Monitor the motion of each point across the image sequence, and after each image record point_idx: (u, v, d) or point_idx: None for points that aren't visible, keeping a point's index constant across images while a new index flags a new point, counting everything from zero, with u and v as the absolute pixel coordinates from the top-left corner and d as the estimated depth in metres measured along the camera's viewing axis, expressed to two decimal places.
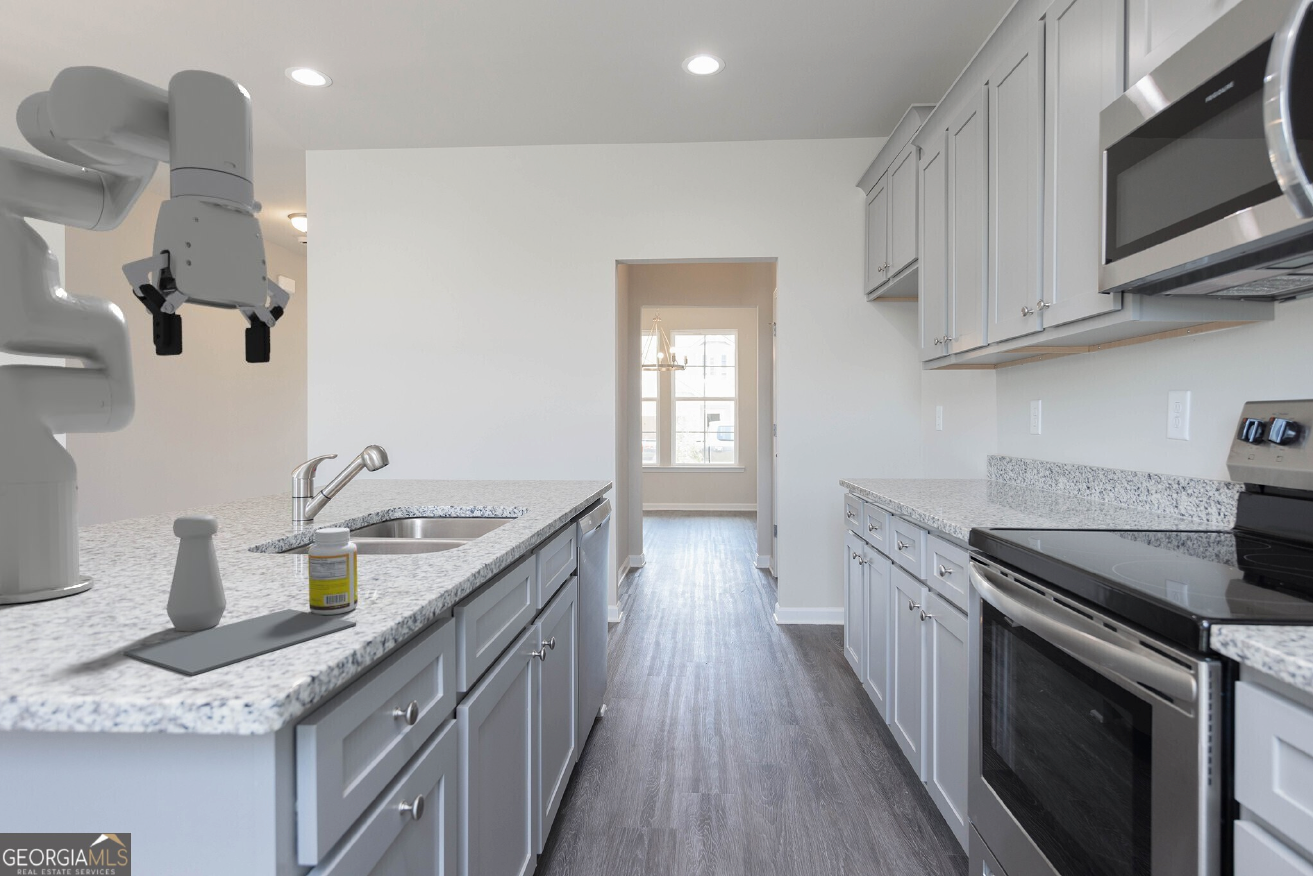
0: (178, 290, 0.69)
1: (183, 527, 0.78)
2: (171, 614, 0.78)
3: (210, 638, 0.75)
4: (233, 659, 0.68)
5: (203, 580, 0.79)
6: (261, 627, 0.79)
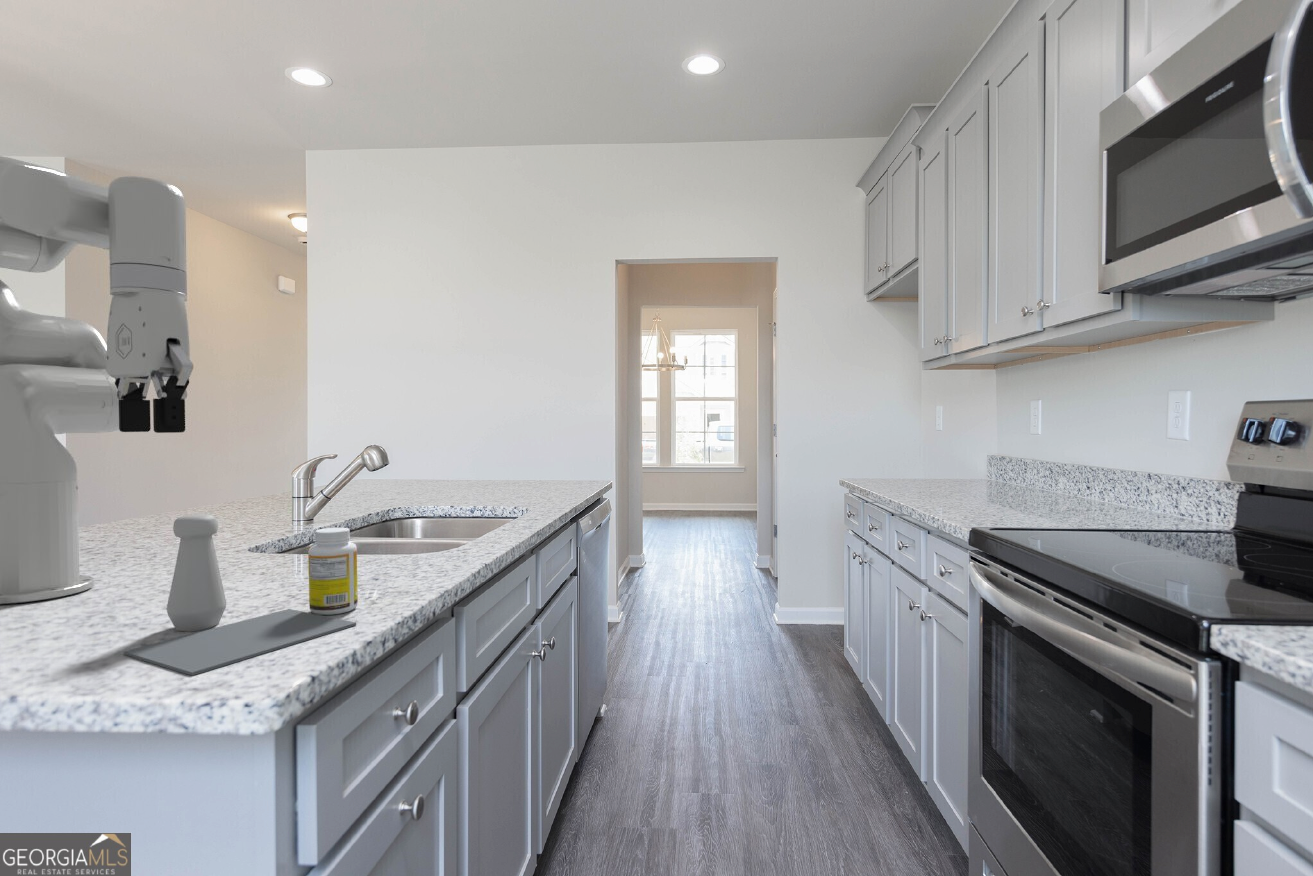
0: None
1: (183, 527, 0.78)
2: (171, 614, 0.78)
3: (210, 638, 0.75)
4: (233, 659, 0.68)
5: (203, 580, 0.79)
6: (261, 627, 0.79)
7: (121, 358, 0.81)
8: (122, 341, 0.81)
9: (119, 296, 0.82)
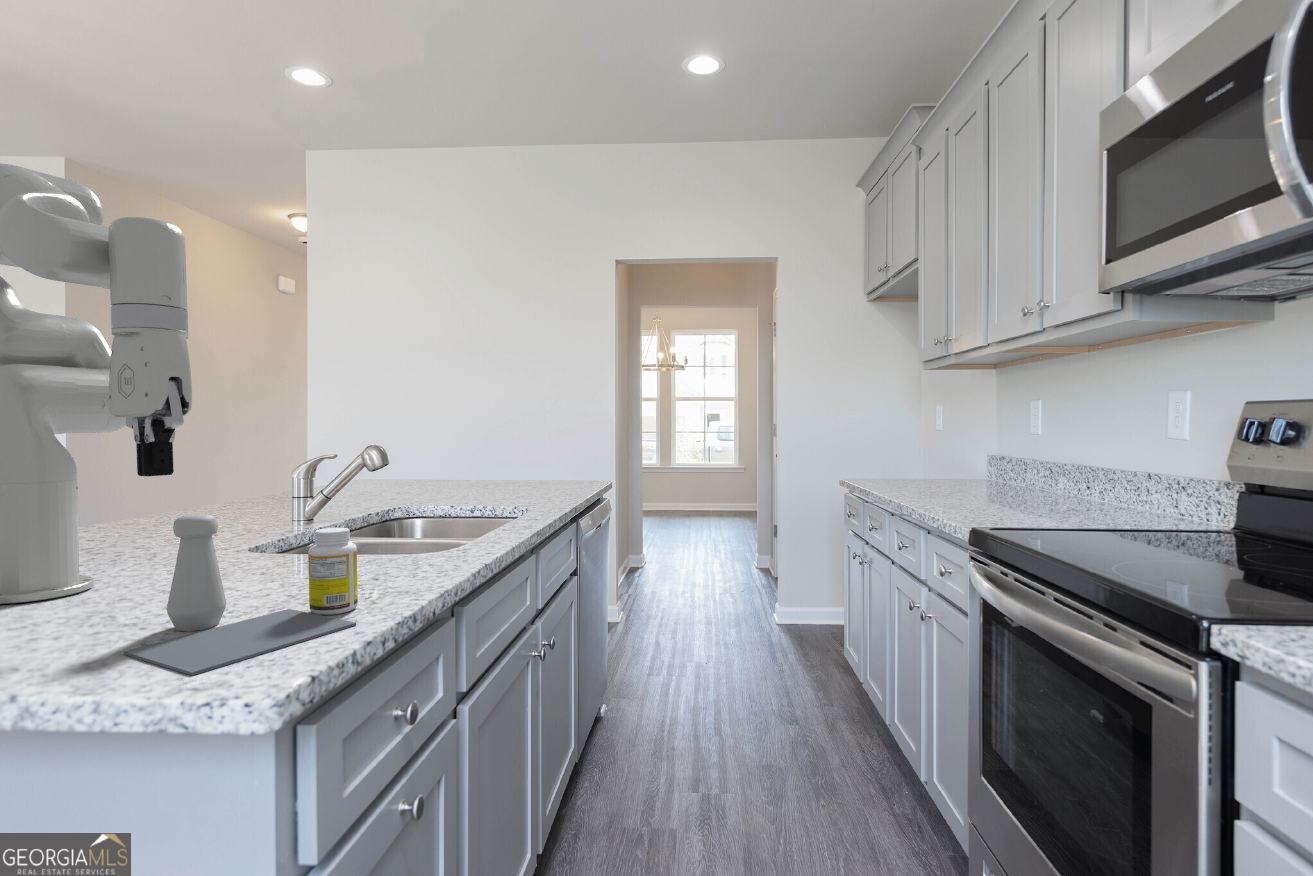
0: None
1: (183, 527, 0.78)
2: (171, 614, 0.78)
3: (210, 638, 0.75)
4: (233, 659, 0.68)
5: (203, 580, 0.79)
6: (261, 627, 0.79)
7: (123, 398, 0.81)
8: (124, 381, 0.81)
9: (121, 336, 0.82)
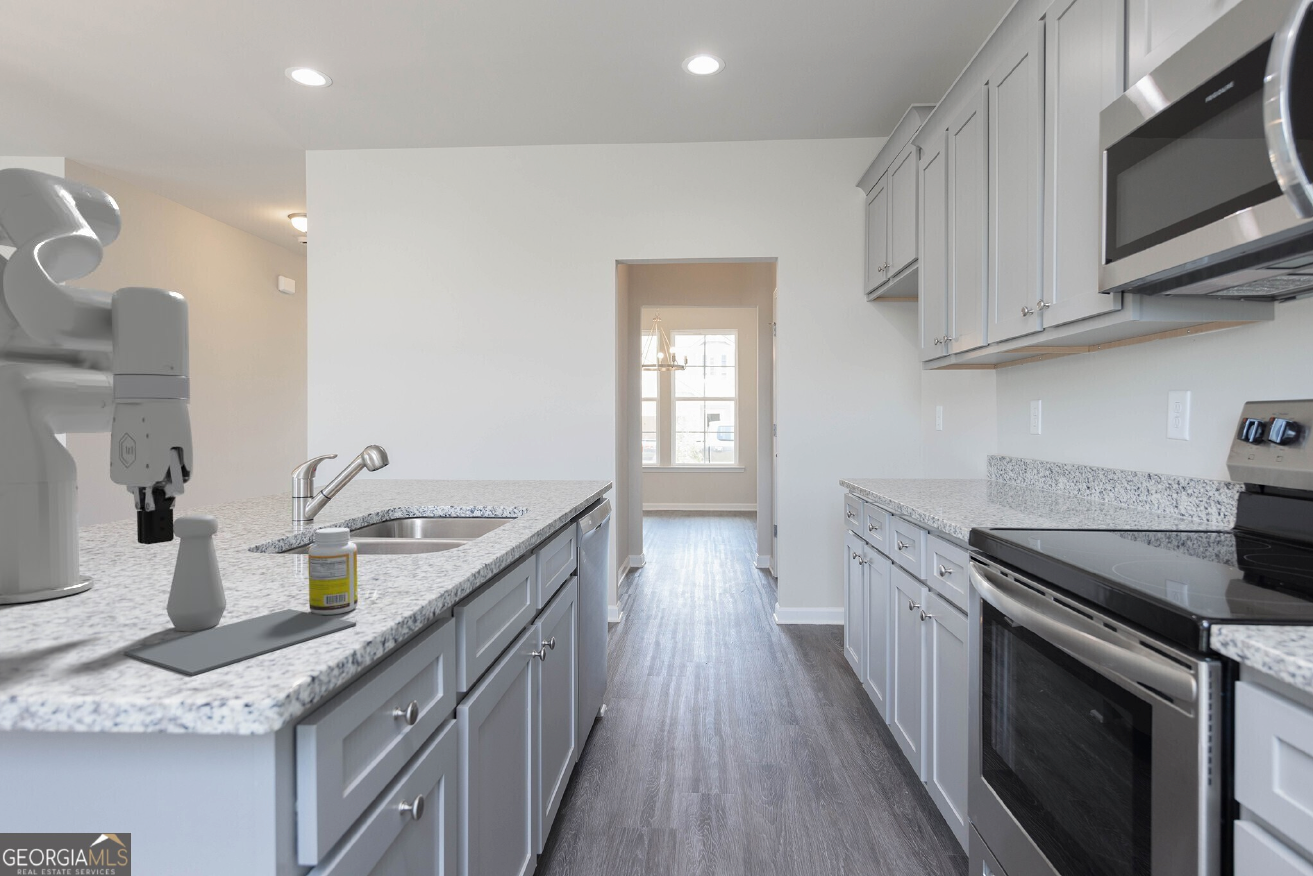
0: None
1: (183, 527, 0.78)
2: (171, 614, 0.78)
3: (210, 638, 0.75)
4: (233, 659, 0.68)
5: (203, 580, 0.79)
6: (261, 627, 0.79)
7: (125, 467, 0.82)
8: (126, 450, 0.81)
9: (122, 405, 0.82)
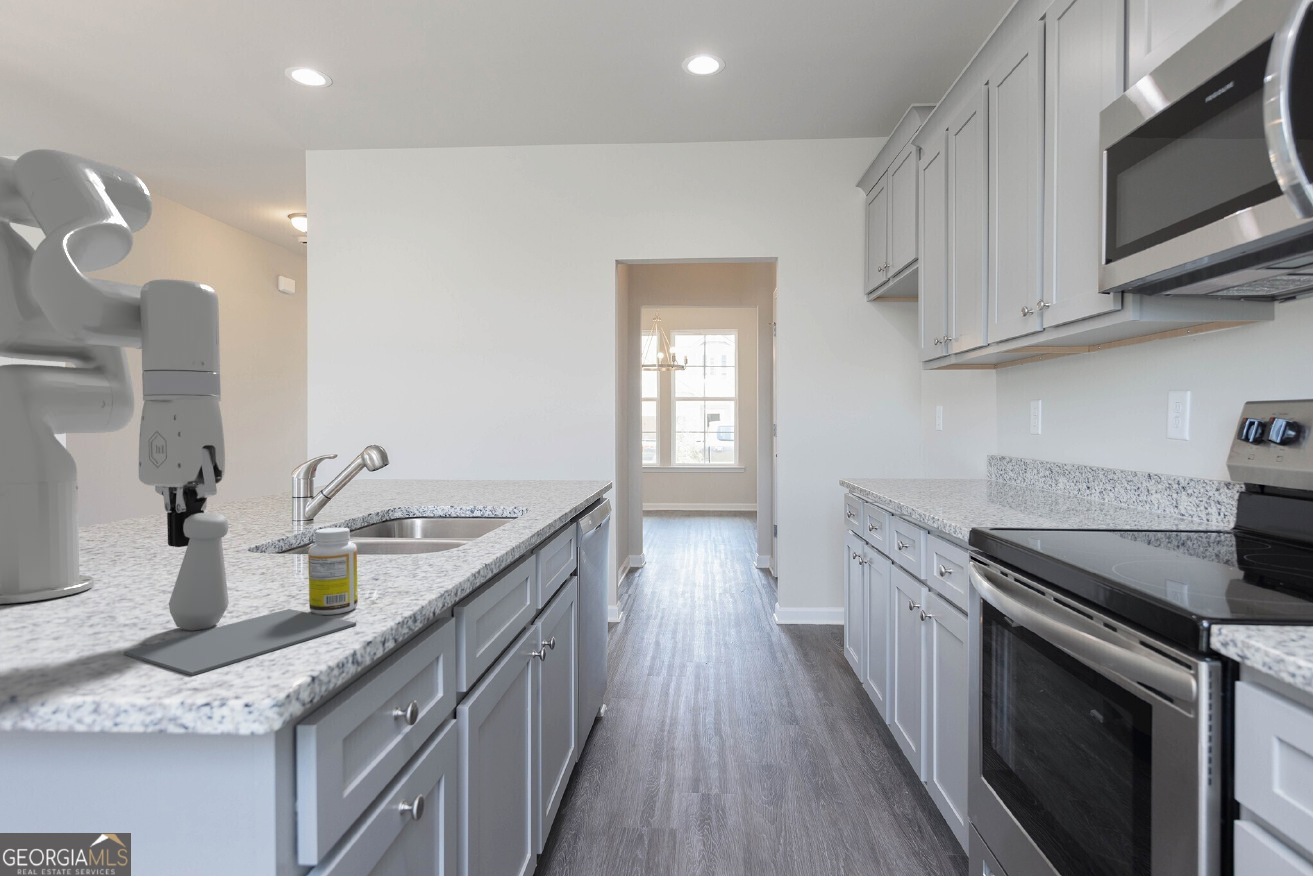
0: None
1: (193, 529, 0.76)
2: (173, 612, 0.77)
3: (210, 638, 0.75)
4: (233, 659, 0.68)
5: (208, 583, 0.78)
6: (261, 627, 0.79)
7: (155, 466, 0.78)
8: (156, 449, 0.78)
9: (152, 402, 0.79)
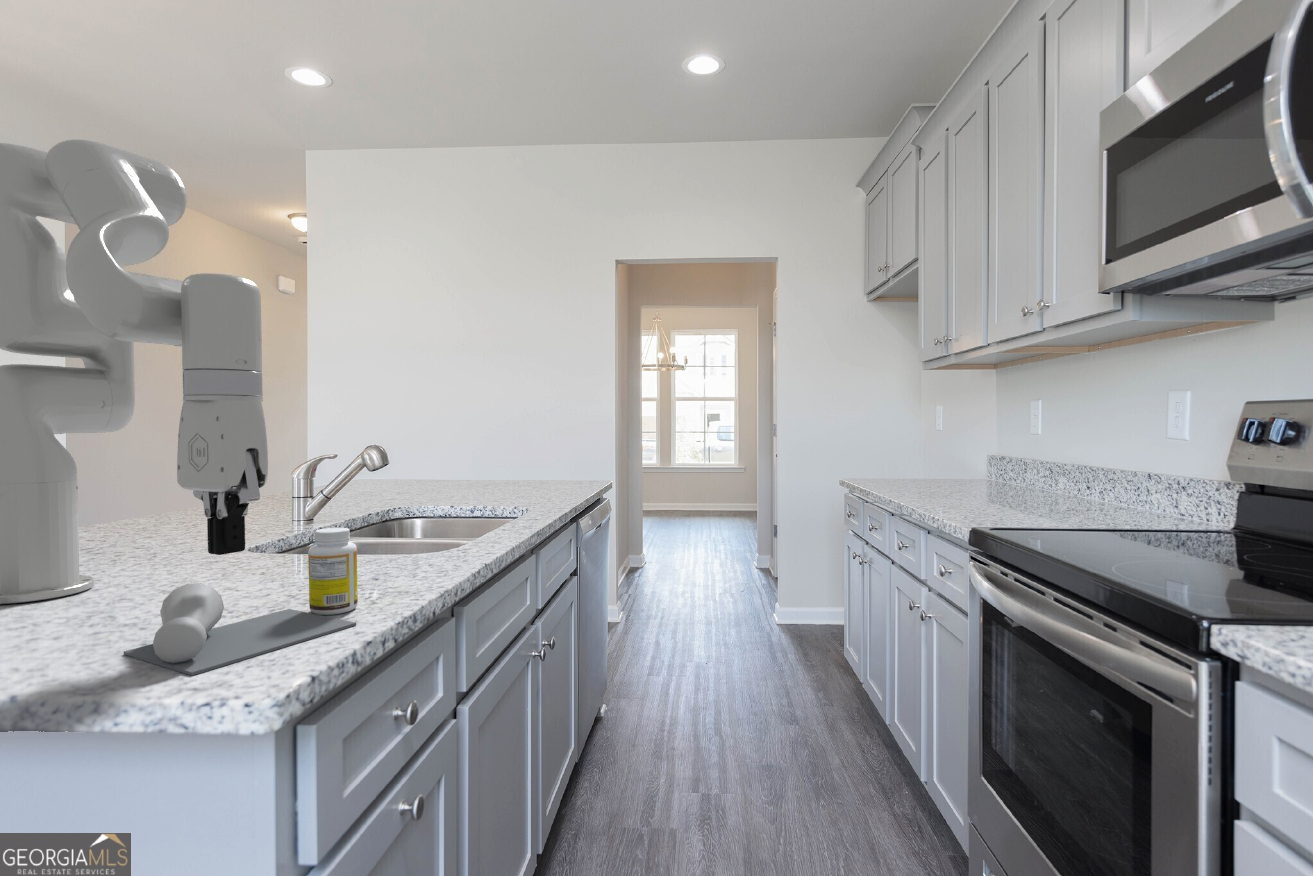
0: None
1: None
2: None
3: (210, 638, 0.75)
4: (233, 659, 0.68)
5: None
6: (261, 627, 0.79)
7: (195, 470, 0.75)
8: (196, 452, 0.74)
9: (192, 402, 0.75)
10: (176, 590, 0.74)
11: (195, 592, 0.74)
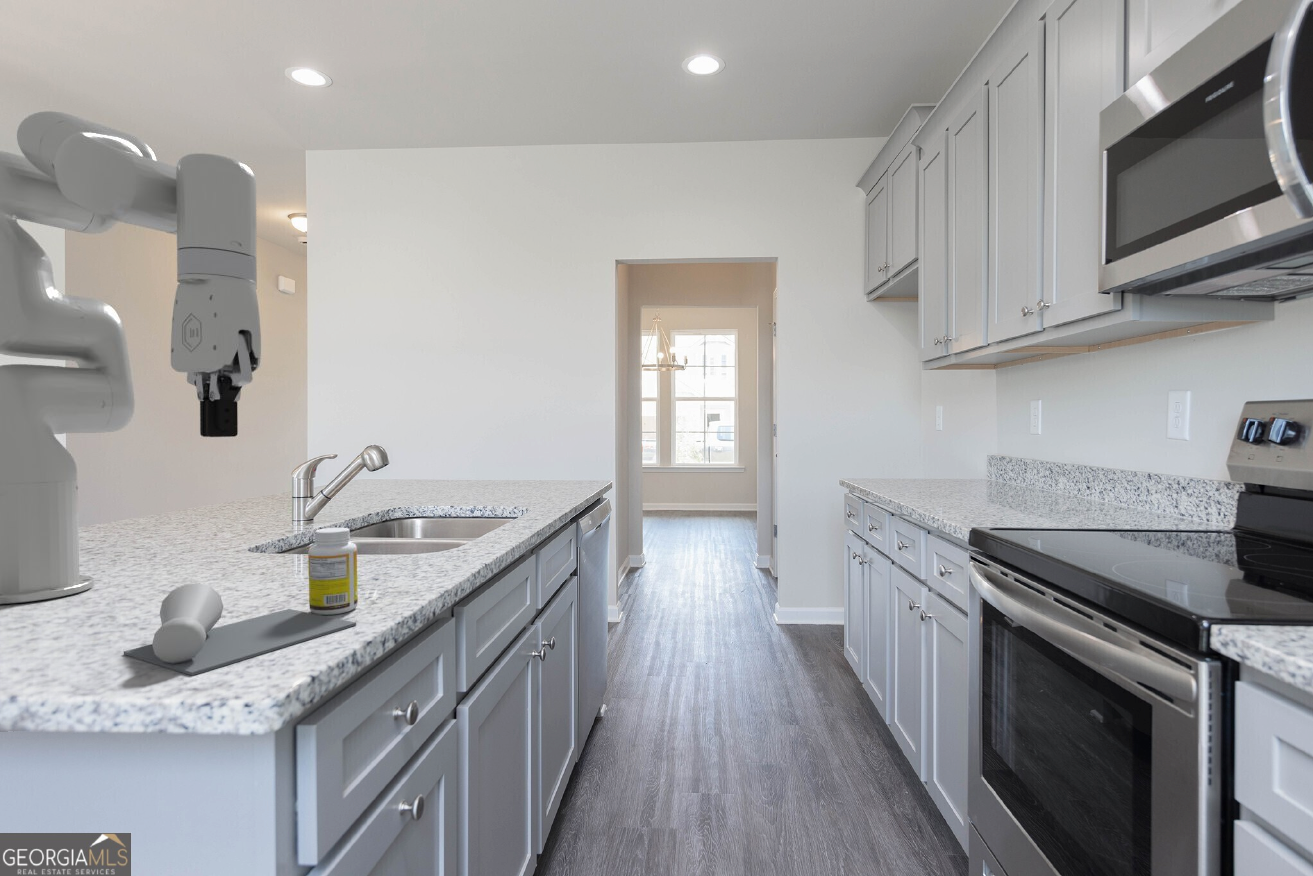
0: None
1: None
2: None
3: (210, 638, 0.75)
4: (233, 659, 0.68)
5: None
6: (261, 627, 0.79)
7: (188, 351, 0.75)
8: (190, 332, 0.75)
9: (186, 284, 0.75)
10: (175, 591, 0.74)
11: (193, 592, 0.74)
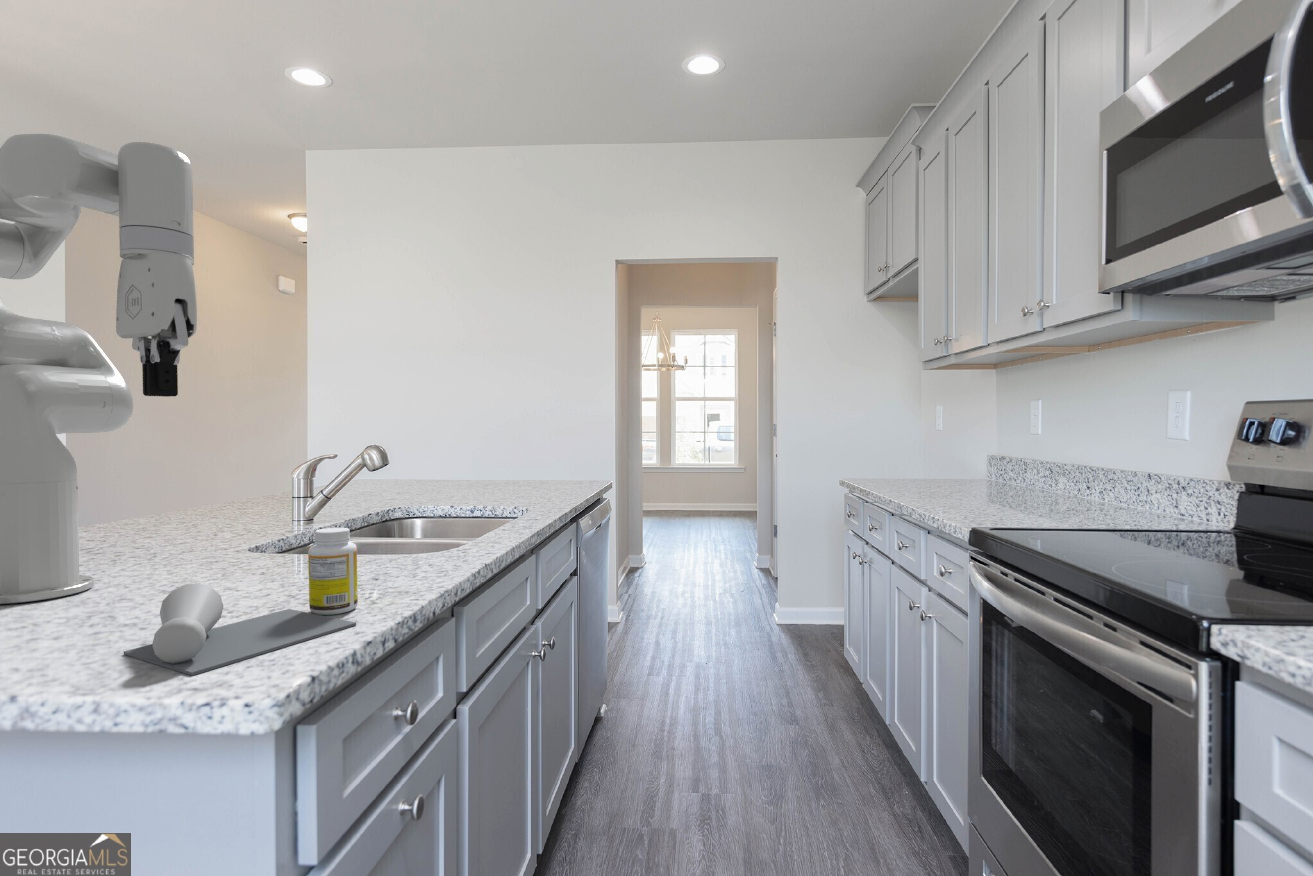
0: None
1: None
2: None
3: (210, 638, 0.75)
4: (233, 659, 0.68)
5: None
6: (261, 627, 0.79)
7: (130, 318, 0.84)
8: (131, 302, 0.84)
9: (128, 258, 0.84)
10: (175, 590, 0.74)
11: (193, 592, 0.74)
